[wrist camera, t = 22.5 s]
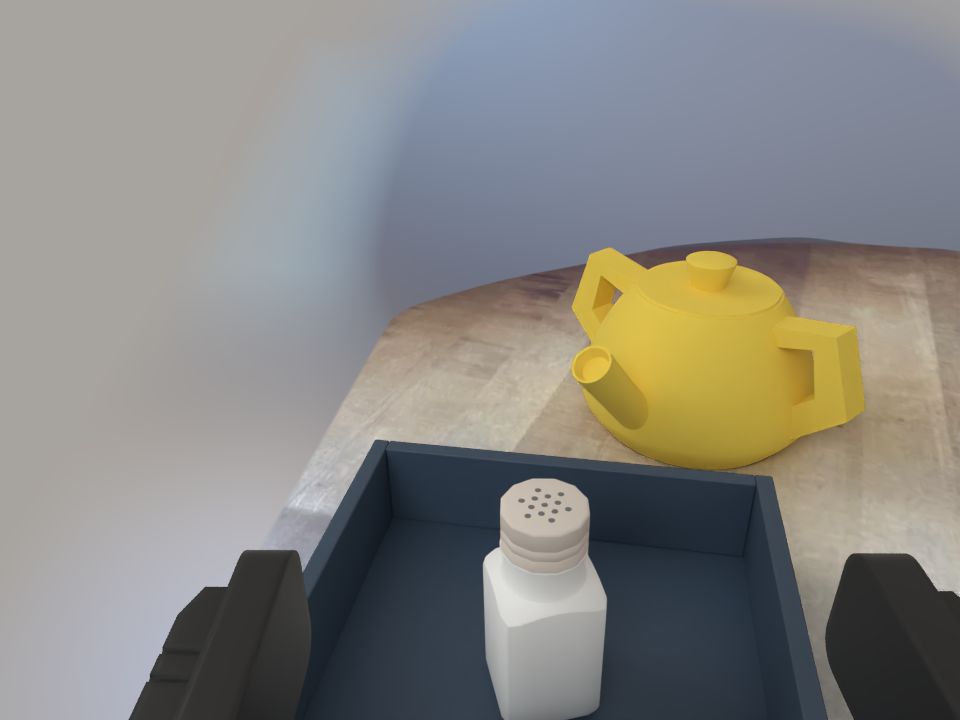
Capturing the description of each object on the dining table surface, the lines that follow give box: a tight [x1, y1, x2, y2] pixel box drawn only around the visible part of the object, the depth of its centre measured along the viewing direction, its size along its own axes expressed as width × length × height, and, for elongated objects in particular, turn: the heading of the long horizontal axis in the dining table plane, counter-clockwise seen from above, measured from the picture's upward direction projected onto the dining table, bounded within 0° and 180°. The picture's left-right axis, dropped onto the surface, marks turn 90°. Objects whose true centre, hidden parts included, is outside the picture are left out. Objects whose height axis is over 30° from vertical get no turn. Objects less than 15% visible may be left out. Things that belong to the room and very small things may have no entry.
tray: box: [295, 440, 828, 720], centre depth 30 cm, size 20×20×5 cm
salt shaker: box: [483, 479, 607, 720], centre depth 29 cm, size 4×4×10 cm
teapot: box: [571, 248, 865, 470], centre depth 46 cm, size 20×18×11 cm
